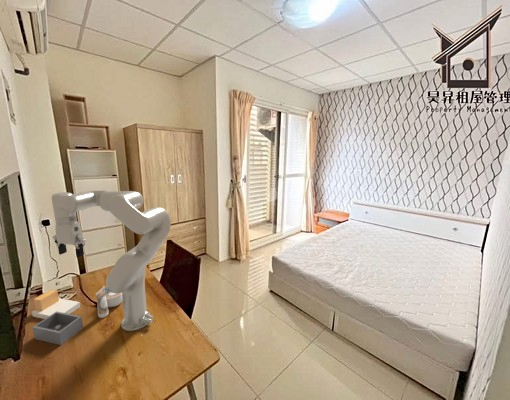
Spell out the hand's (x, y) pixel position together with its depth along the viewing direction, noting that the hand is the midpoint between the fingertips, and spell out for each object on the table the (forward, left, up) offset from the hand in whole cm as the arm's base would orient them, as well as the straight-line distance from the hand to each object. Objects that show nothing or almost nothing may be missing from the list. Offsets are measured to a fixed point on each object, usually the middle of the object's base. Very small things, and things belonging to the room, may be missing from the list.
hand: (71, 254), depth 107 cm
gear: (+3, -18, -29) cm, 34 cm away
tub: (-2, +12, -32) cm, 35 cm away
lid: (+13, +1, -32) cm, 35 cm away
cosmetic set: (-10, -11, -33) cm, 36 cm away
